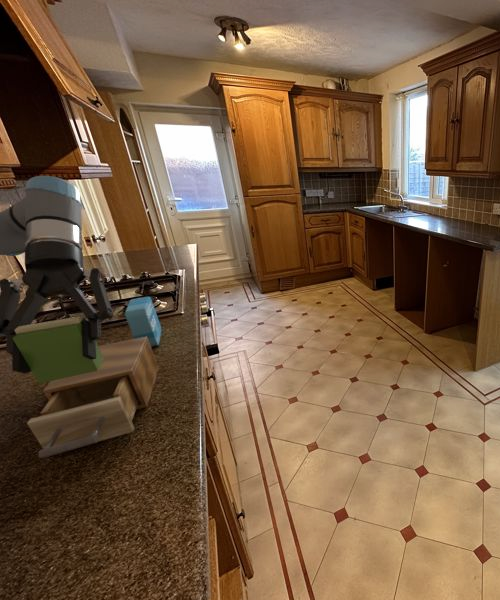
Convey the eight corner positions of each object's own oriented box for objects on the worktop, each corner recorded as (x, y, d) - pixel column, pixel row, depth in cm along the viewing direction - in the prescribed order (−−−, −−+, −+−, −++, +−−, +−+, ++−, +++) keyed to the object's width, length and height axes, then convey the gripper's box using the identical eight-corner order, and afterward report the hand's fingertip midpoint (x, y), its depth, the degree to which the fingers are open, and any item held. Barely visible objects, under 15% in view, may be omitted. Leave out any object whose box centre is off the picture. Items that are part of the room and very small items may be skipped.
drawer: (125, 455, 57) (108, 422, 54) (30, 485, 52) (6, 450, 49) (148, 388, 74) (136, 359, 71) (78, 405, 69) (62, 375, 66)
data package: (158, 347, 92) (144, 309, 87) (139, 351, 90) (123, 313, 85) (162, 329, 102) (149, 294, 97) (144, 333, 99) (131, 298, 95)
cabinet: (147, 407, 70) (131, 370, 66) (64, 429, 64) (42, 390, 60) (159, 368, 83) (146, 336, 79) (91, 384, 77) (74, 350, 73)
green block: (49, 371, 59) (22, 323, 55) (104, 359, 62) (83, 313, 58) (38, 383, 55) (9, 333, 51) (97, 370, 59) (74, 322, 55)
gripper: (130, 252, 69) (140, 353, 62) (-6, 267, 60) (-13, 386, 54) (114, 232, 62) (123, 342, 55) (-42, 246, 54) (-54, 378, 47)
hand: (56, 364), depth 54 cm, fingers closed on green block, 8 cm apart
